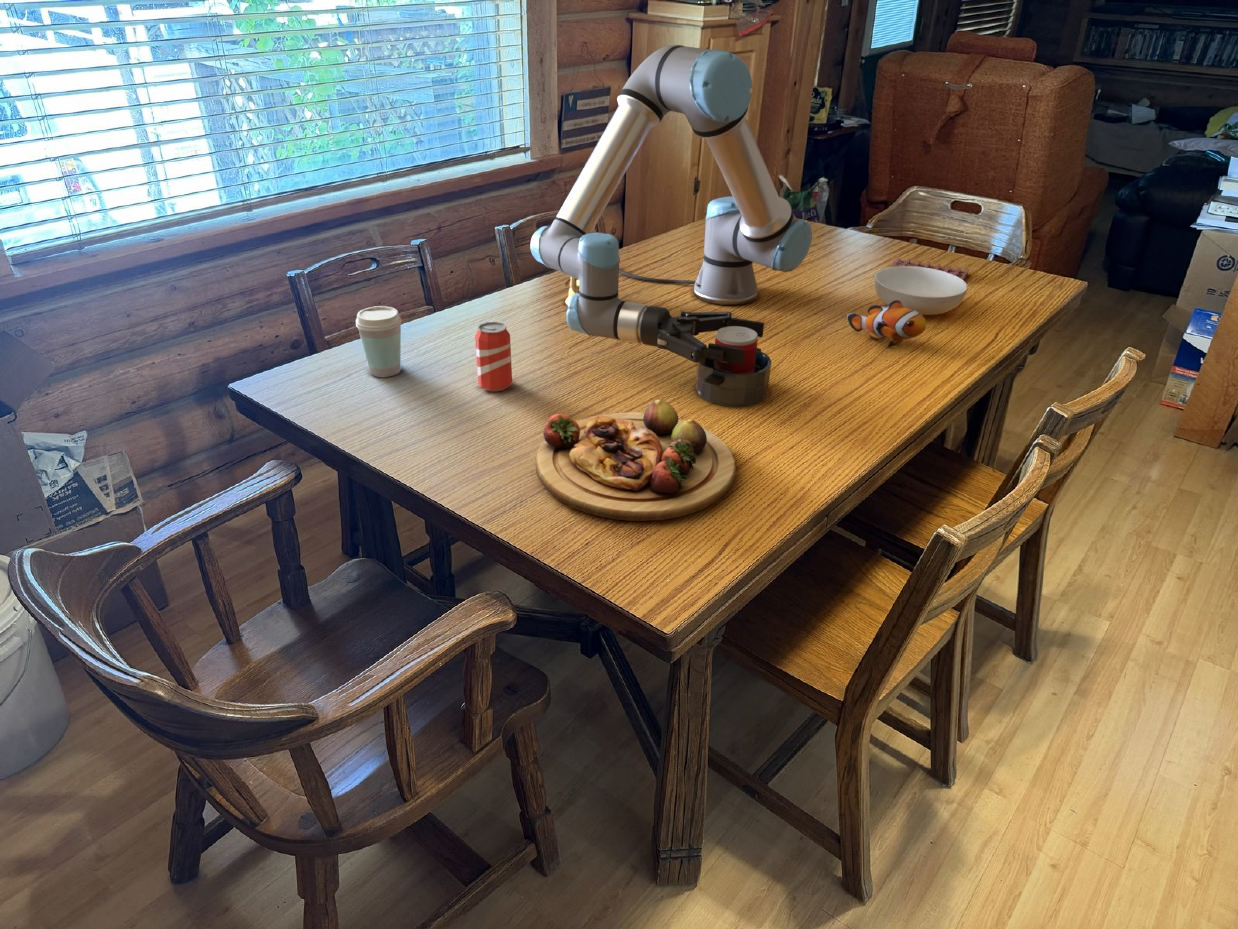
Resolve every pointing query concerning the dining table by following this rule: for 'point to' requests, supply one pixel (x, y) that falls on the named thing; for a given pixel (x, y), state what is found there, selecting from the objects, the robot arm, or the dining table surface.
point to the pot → (735, 384)
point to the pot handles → (717, 378)
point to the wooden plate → (634, 464)
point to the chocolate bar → (932, 267)
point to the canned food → (738, 339)
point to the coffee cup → (381, 339)
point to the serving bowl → (920, 288)
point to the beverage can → (493, 356)
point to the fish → (889, 322)
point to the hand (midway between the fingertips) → (753, 343)
